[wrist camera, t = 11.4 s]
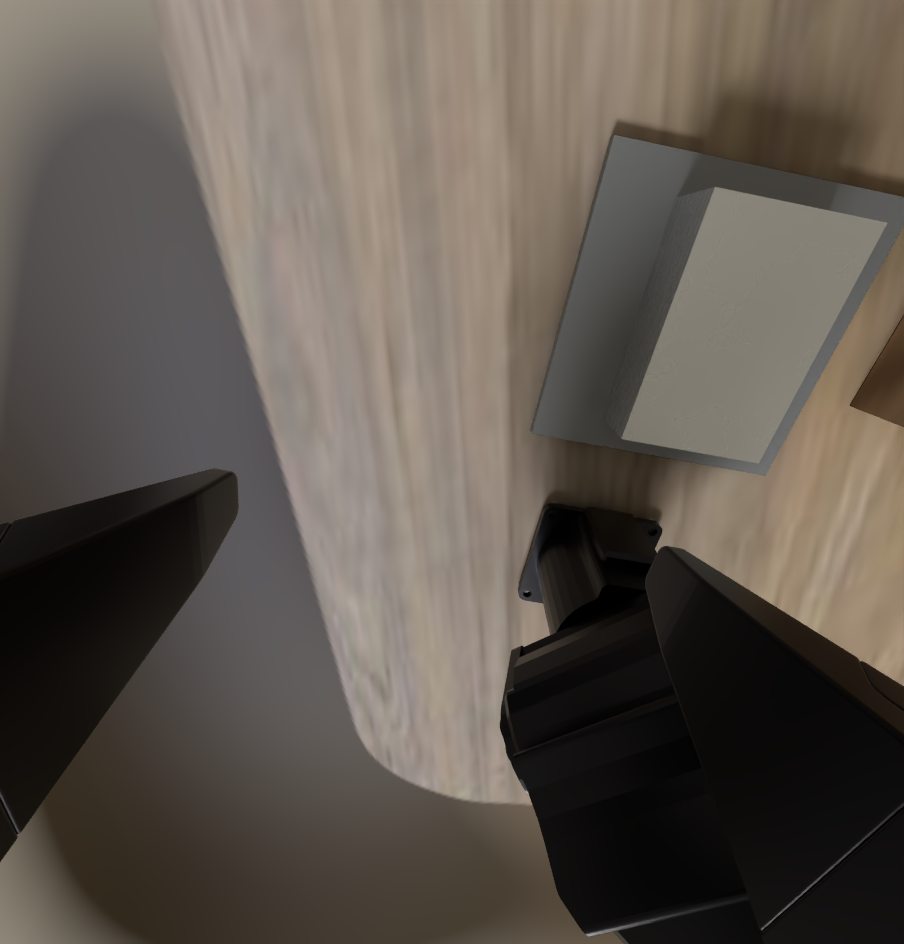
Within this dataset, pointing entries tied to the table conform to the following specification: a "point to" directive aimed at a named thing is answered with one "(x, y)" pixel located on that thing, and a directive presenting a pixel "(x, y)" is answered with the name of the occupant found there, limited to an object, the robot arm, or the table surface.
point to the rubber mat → (628, 269)
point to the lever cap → (733, 320)
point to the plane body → (885, 382)
